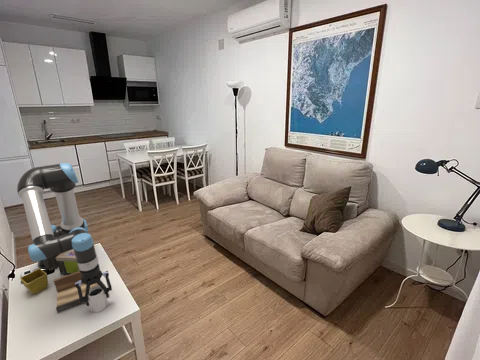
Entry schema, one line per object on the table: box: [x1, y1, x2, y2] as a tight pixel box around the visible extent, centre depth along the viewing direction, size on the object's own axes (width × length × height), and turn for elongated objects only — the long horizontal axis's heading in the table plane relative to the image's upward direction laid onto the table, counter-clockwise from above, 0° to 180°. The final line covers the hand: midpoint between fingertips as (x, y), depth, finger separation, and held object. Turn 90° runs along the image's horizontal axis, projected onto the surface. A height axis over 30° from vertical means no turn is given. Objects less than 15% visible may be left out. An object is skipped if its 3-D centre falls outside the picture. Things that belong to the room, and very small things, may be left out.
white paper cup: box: [88, 286, 108, 313], centre depth 117 cm, size 7×7×10 cm
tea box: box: [56, 250, 80, 277], centre depth 138 cm, size 15×10×15 cm, turn 84°
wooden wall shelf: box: [53, 271, 99, 314], centre depth 124 cm, size 14×18×9 cm
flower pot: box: [19, 268, 49, 295], centre depth 128 cm, size 9×9×9 cm
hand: (99, 306), depth 119 cm, fingers closed on white paper cup, 6 cm apart
